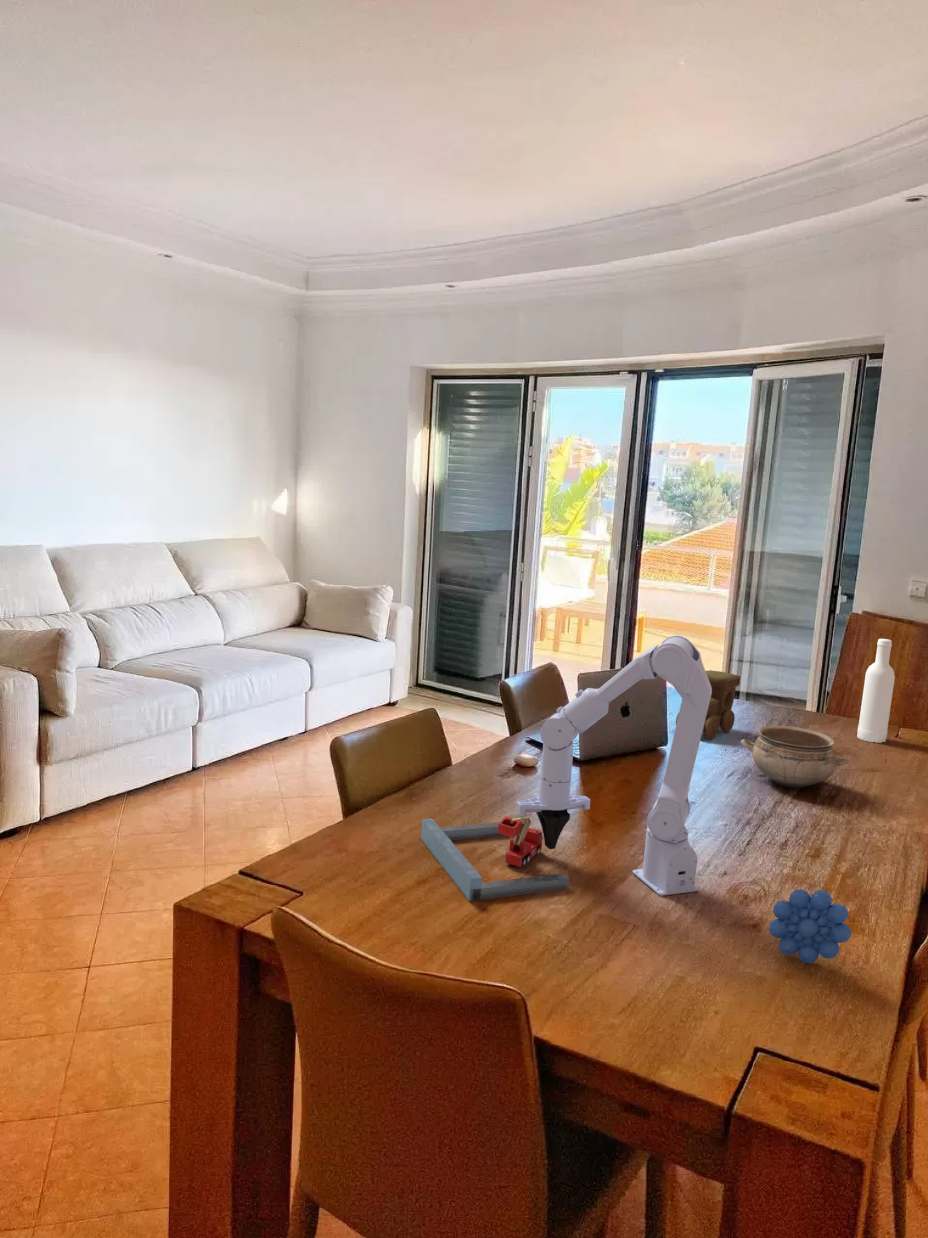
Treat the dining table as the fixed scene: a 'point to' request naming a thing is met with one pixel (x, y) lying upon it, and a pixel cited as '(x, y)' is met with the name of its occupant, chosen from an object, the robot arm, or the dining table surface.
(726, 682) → the wooden toy train
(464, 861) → the garage
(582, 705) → the robot arm
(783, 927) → the blue beaded flower
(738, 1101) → the dining table surface
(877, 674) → the bottle
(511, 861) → the toy fire truck
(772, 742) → the cooking pot
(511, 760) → the dining table surface
